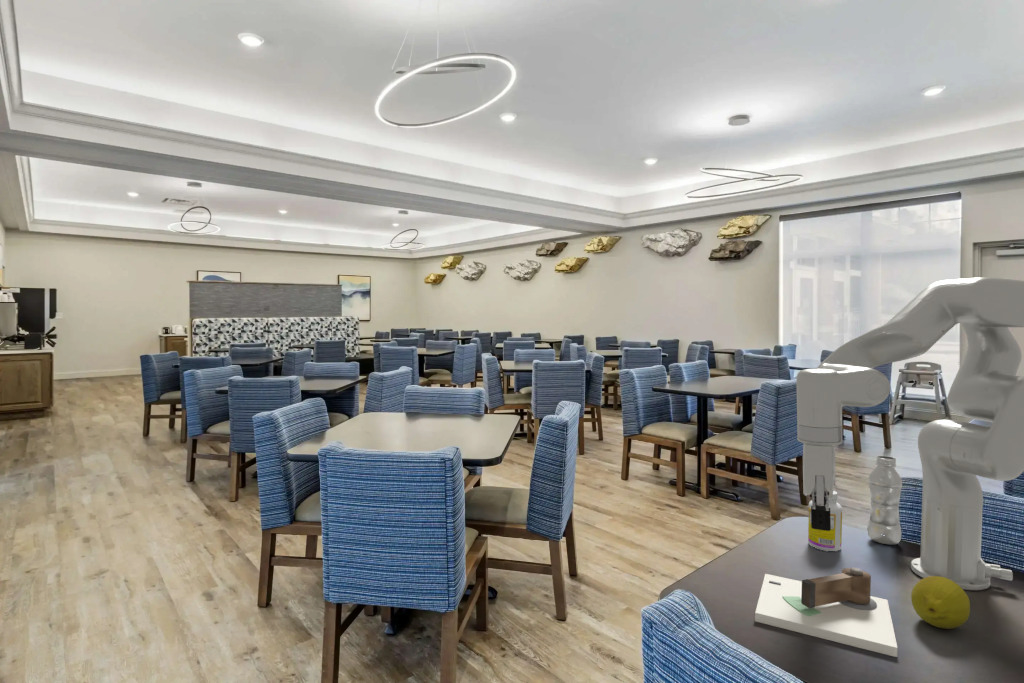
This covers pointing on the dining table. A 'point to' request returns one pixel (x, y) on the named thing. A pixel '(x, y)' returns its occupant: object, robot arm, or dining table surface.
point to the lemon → (940, 602)
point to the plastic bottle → (885, 502)
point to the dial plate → (827, 617)
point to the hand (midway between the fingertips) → (821, 528)
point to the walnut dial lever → (837, 588)
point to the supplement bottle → (828, 538)
